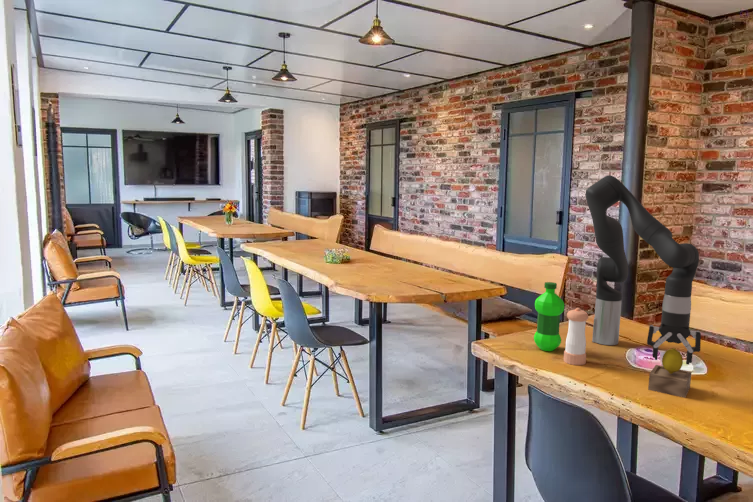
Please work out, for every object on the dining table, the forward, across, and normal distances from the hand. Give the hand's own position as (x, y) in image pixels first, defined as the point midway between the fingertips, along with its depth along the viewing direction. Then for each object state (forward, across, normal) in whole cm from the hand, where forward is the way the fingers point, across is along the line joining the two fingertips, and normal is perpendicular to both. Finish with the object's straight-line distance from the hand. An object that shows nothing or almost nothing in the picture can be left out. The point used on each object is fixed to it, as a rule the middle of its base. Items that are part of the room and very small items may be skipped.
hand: (671, 361), depth 170 cm
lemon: (+4, 0, 0) cm, 4 cm away
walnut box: (+9, 0, 0) cm, 9 cm away
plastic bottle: (+9, -40, +22) cm, 46 cm away
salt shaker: (+9, -29, +12) cm, 33 cm away
